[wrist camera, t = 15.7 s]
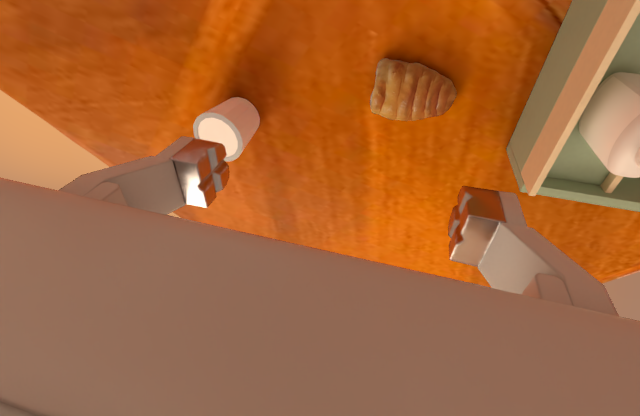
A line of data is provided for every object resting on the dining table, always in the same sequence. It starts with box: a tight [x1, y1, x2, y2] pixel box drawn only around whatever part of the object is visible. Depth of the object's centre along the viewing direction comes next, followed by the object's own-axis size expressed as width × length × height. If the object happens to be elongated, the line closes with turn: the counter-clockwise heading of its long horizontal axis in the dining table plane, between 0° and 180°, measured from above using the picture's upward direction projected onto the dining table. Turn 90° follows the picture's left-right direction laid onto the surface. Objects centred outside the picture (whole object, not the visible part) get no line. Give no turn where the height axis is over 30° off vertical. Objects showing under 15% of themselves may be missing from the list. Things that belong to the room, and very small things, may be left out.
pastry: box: [370, 58, 457, 121], centre depth 37 cm, size 9×7×4 cm
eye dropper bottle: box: [579, 72, 640, 178], centre depth 24 cm, size 4×6×12 cm
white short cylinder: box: [193, 97, 260, 161], centre depth 44 cm, size 7×7×7 cm
